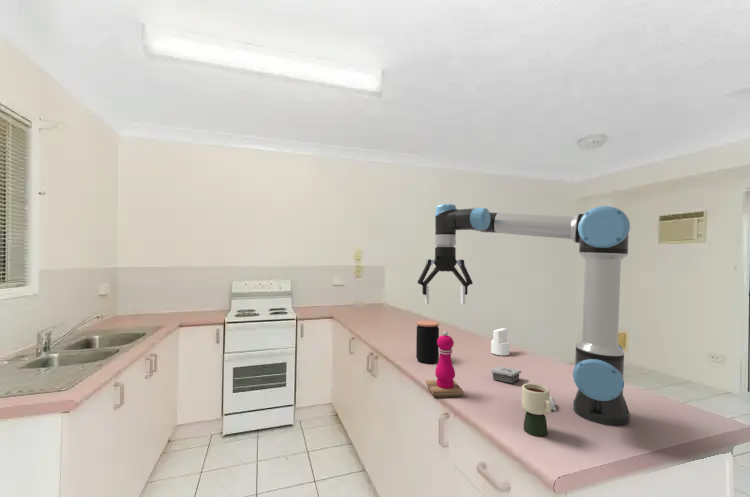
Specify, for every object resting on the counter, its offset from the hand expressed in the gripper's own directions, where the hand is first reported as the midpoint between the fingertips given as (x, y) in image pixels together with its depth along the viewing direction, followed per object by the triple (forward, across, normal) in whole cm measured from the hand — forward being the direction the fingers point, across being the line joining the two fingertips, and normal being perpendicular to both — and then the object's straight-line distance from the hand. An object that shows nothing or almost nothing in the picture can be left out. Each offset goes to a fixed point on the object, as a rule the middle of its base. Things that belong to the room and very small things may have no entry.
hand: (444, 303), depth 127 cm
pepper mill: (+30, 0, 0) cm, 30 cm away
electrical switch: (+33, -32, -8) cm, 47 cm away
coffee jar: (+33, -3, -38) cm, 50 cm away
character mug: (+33, -18, +30) cm, 48 cm away
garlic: (+33, -30, +14) cm, 47 cm away
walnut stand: (+33, 0, 0) cm, 33 cm away
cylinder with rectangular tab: (+33, -44, -48) cm, 73 cm away
